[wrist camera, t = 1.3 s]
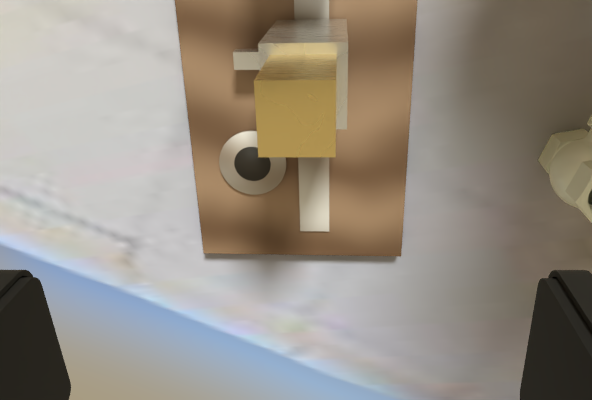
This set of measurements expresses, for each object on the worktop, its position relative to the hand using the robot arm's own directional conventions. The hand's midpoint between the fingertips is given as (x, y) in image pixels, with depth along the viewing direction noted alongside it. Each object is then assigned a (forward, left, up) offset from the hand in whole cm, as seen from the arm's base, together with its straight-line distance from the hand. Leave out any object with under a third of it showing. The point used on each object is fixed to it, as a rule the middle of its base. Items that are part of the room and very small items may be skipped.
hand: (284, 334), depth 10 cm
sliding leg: (-1, -2, -25) cm, 25 cm away
